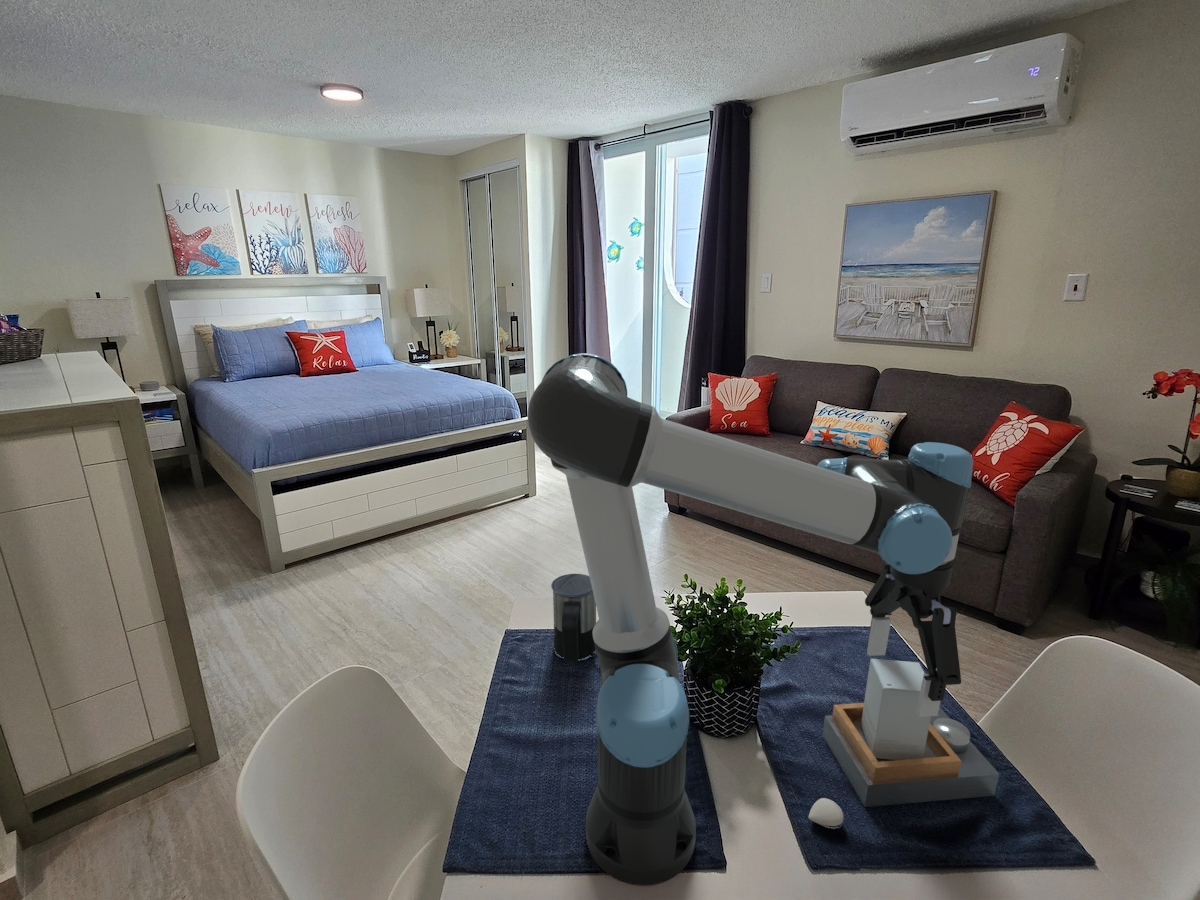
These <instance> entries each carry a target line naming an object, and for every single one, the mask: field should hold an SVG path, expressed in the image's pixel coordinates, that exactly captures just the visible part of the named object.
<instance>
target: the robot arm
mask: <svg viewBox="0 0 1200 900" xmlns="http://www.w3.org/2000/svg"><path fill="white" fill-rule="evenodd" d="M527 409H528V410H527V423H528V429H529V431H530V435H531V437H532V439H533V441H534V444H536V446H537V447H538V448H539V450H540V451H541V452H542V453H543V454H544V455H545V456H547V458H549V459H550V462H551V465H552V467H553V468H554V469H555V470H557V471H559V472H561V473H562V474H563V475H565V478H566V482H567V485H568V490H569V495H570V499H571V503H572V508H573V511H574V515H575V519H576V525H577V528H578V535H579V538H580V542H581V545H582V550H583V555H584V559H585V562H586V568H587V572H588V576H589V577H590V581H591V586H592V590H593V594H594V599H595V603H596V613H597V616H598V620H596V624H595V626H594V628H593V632H592V633H593V640H594V644H595V648H596V654H597V657H598V658H597V659H598V660H597V661H598V664H599V670H600V690H599V693H598V695H597V696H598V697H597V700H596V706H595V722H596V725H597V729H596V730H597V785H596V788H595V790H594V792H593V795H592V798H591V800H590V802H589V805H588V808H587V810H586V816H585V841H586V840H587V841H586V845H588V846H587V849H588V848H589V849H588V851H589V853H590V856H591V857H592V859H593V860H594V862H595V863H596V864H597V866H598V867H599V868H600V869H602V870H603V871H604V872H605V873H606V874H608V875H610V877H612V878H614V879H616V880H618V881H621V882H623V883H626V884H630V885H636V886H637V885H638V886H651V885H656V884H661V883H664V882H666V881H669V880H670V879H672V878H675V876H677V875H678V874H680V872H682V871H683V870H684V869H685V867H686V866H687V865H688V864H689V862H690V860H691V859H692V856H693V854H694V851H695V846H696V835H697V834H696V828H697V827H696V824H697V823H696V818H695V815H694V812H693V811H694V810H693V809H692V806H691V803H690V801H689V797H688V795H687V792H686V789H685V788H686V787H685V781H686V766H687V765H686V762H687V741H688V740H687V739H688V738H687V737H688V731H689V726H690V712H689V711H690V710H689V706H688V705H689V704H688V700H687V695H686V692H685V689H684V688H683V687H682V685H681V681H680V680H681V679H680V673H679V672H680V671H679V666H678V659H679V657H678V656H679V654H678V647H677V643H676V640H675V639H674V637H673V633H672V628H671V623H670V619H669V617H668V615H667V613H666V612H665V611H663V609H661V608H660V607H657V605H656V601H655V596H654V590H653V586H652V585H653V584H652V581H651V575H650V569H649V565H648V560H647V555H646V550H645V545H644V541H643V535H642V531H641V525H640V520H639V519H640V518H639V516H638V514H639V513H638V511H637V503H636V501H635V494H634V489H633V487H635V486H636V485H639V484H642V483H643V484H646V485H648V486H653V487H656V488H658V489H659V488H660V489H662V490H666V491H669V492H672V493H675V494H679V495H683V496H685V497H689V498H692V499H693V498H694V499H696V500H700V501H703V502H706V503H709V504H713V505H716V506H719V507H723V508H726V509H730V510H734V511H736V512H740V513H743V514H746V515H749V516H753V517H757V518H760V519H763V520H767V521H770V522H773V523H777V524H779V525H783V526H787V527H790V528H793V529H796V530H797V529H798V530H800V531H804V532H806V533H809V534H814V535H816V536H819V537H822V538H827V539H830V540H834V541H837V542H840V543H844V544H847V545H850V546H854V547H857V548H860V549H863V550H866V551H870V552H872V553H876V554H878V555H879V556H880V558H881V560H882V561H883V562H884V563H883V565H882V569H881V574H880V575H879V577H878V579H876V582H875V583H874V585H873V586H872V587H871V590H870V591H869V593H868V594H867V596H866V597H865V599H864V604H865V605H866V606H867V607H869V608H870V609H869V613H870V615H871V619H870V626H869V637H868V644H867V649H866V654H867V655H868V656H869V657H873V656H875V657H878V656H886V653H887V652H886V651H887V646H888V642H889V641H888V640H889V635H890V631H891V624H892V619H891V618H890V617H889V616H893V614H892V613H893V612H895V611H896V610H898V609H899V608H901V609H902V610H903V611H905V612H906V613H907V615H908V616H909V617H910V618H911V621H912V626H913V627H914V628H916V629H917V631H918V632H917V633H918V635H919V640H920V644H921V645H920V646H921V648H922V653H923V657H924V660H925V664H926V669H927V673H925V674H924V675H923V680H922V685H921V690H920V695H919V700H918V705H917V710H916V714H917V715H918V716H919V717H927V716H938V711H939V707H940V708H941V706H940V705H941V702H942V701H943V700H944V698H945V694H946V689H947V686H954V685H956V686H957V685H961V683H962V676H961V667H960V658H959V649H958V641H957V634H956V633H957V632H956V619H957V611H956V610H957V609H956V608H955V607H953V606H952V607H946V606H944V605H943V604H942V602H941V593H942V592H944V590H945V589H946V588H947V587H949V585H950V583H951V579H952V578H951V577H952V574H953V570H954V569H953V568H954V561H953V560H954V559H955V558H956V553H957V549H958V548H957V547H958V541H959V537H960V532H961V527H962V525H963V519H964V515H965V511H966V506H967V502H968V496H969V491H970V489H971V488H972V487H971V486H972V477H973V470H974V468H973V467H974V458H973V455H972V454H971V453H970V452H969V451H967V450H966V449H964V448H963V447H960V446H957V445H953V444H949V443H944V442H932V441H928V442H927V441H925V442H920V443H919V442H918V443H916V444H914V445H913V446H912V447H911V448H910V451H909V454H908V456H907V459H905V458H904V459H901V458H900V459H878V458H877V459H872V458H871V459H870V458H848V457H847V456H846V457H844V458H843V457H840V458H825V459H822V460H821V461H820V462H818V464H817V465H814V464H812V463H808V462H804V461H802V460H799V459H795V458H792V457H789V456H785V455H782V454H778V453H775V452H772V451H769V450H766V449H763V448H759V447H756V446H754V445H753V446H752V445H749V444H747V443H743V442H740V441H736V440H733V439H730V438H726V437H723V436H720V435H718V434H714V433H710V432H708V431H704V430H700V429H697V428H695V427H694V428H693V427H691V426H687V425H684V424H682V423H679V422H674V421H671V420H669V419H665V418H662V417H661V416H660V414H659V412H658V410H657V409H656V407H655V406H653V405H650V404H646V403H644V402H641V401H638V400H635V399H633V398H631V397H628V387H627V383H626V380H625V378H624V377H623V375H622V372H620V371H619V370H618V368H617V367H616V366H615V365H614V364H613V363H612V362H611V361H610V360H608V359H606V358H604V357H602V356H600V355H597V354H593V353H584V352H583V353H575V354H570V355H569V356H566V357H563V358H561V359H559V360H558V361H556V362H554V363H553V364H552V365H551V366H550V367H549V368H548V369H547V371H546V372H545V373H544V375H543V377H542V378H541V382H540V383H539V384H538V385H537V387H536V388H535V389H534V391H533V393H532V396H531V398H530V400H529V404H528V408H527ZM929 617H930V619H931V620H924V619H928V618H929ZM922 619H923V620H922Z"/></svg>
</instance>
